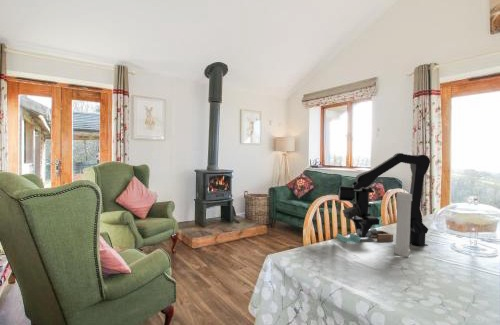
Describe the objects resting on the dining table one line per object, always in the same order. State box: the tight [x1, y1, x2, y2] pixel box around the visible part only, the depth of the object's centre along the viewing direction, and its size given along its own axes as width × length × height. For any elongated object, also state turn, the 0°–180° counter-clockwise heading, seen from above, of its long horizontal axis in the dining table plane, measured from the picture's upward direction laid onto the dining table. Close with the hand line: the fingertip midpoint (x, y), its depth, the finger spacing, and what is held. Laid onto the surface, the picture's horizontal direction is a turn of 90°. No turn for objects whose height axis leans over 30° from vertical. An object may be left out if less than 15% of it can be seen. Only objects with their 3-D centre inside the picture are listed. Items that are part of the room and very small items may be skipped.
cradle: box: [336, 232, 361, 243], centre depth 130 cm, size 7×8×2 cm
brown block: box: [369, 229, 394, 243], centre depth 132 cm, size 7×7×4 cm
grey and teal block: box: [355, 227, 377, 239], centre depth 131 cm, size 8×4×4 cm, turn 100°
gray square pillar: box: [394, 178, 412, 258], centre depth 113 cm, size 6×6×30 cm
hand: (361, 235), depth 131 cm, fingers closed on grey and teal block, 4 cm apart
